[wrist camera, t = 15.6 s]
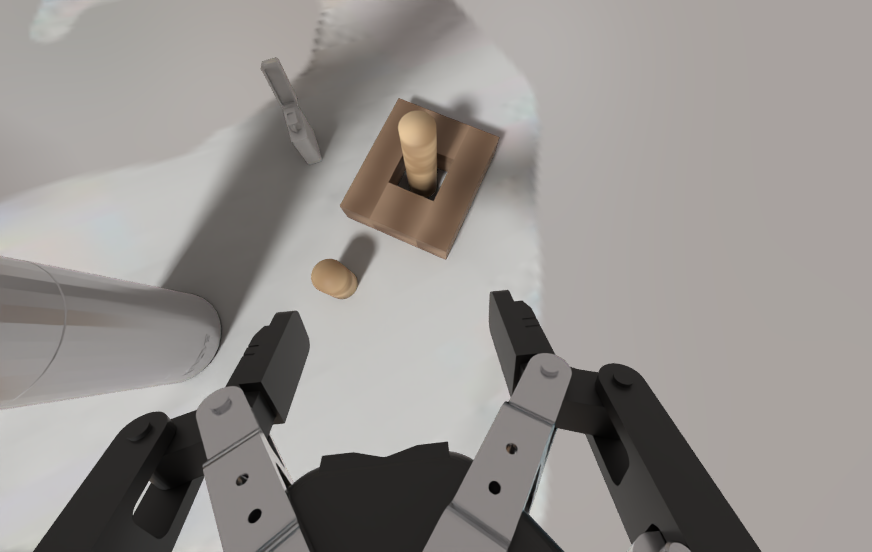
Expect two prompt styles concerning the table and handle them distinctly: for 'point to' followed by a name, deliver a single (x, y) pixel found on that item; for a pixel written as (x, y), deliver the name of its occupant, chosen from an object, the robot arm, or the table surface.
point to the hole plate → (408, 212)
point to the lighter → (292, 111)
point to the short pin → (334, 279)
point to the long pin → (419, 151)
